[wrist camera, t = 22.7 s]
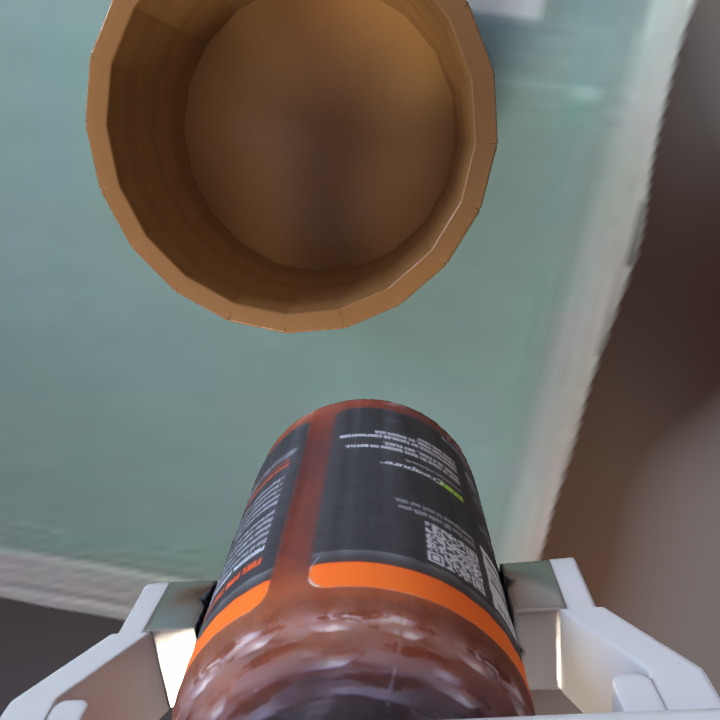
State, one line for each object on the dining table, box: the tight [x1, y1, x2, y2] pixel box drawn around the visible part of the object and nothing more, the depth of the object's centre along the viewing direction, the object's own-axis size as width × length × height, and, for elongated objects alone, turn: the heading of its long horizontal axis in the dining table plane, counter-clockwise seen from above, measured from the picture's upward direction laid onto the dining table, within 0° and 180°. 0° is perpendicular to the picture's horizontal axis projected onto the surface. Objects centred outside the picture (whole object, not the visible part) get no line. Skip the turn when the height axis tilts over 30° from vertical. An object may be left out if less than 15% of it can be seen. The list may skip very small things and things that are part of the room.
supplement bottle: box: [172, 399, 535, 720], centre depth 13 cm, size 6×6×11 cm
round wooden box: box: [86, 0, 498, 333], centre depth 28 cm, size 15×15×10 cm
